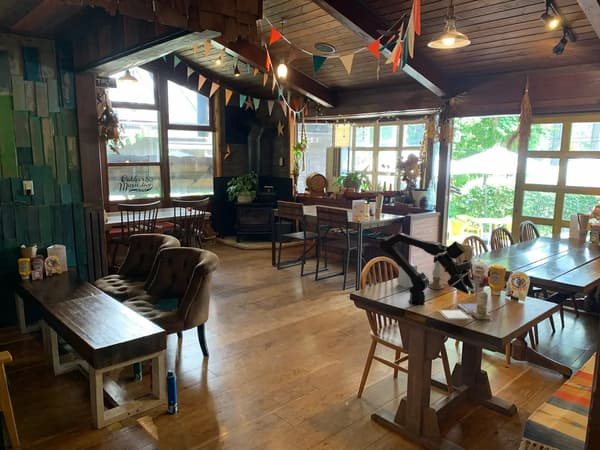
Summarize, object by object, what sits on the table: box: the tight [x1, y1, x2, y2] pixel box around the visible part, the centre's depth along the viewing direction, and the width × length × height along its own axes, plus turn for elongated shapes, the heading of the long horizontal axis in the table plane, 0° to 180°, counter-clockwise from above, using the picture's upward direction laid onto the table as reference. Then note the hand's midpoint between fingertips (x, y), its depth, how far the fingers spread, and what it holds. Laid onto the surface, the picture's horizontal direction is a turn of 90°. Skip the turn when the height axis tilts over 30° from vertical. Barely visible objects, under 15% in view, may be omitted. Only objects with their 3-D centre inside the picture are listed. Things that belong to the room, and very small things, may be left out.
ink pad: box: [457, 303, 477, 314], centre depth 216 cm, size 10×10×2 cm
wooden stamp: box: [471, 291, 491, 321], centre depth 204 cm, size 6×6×13 cm
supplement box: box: [397, 262, 418, 289], centre depth 251 cm, size 7×7×13 cm
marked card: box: [437, 309, 473, 320], centre depth 208 cm, size 12×12×1 cm
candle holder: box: [427, 252, 446, 290], centre depth 249 cm, size 9×9×20 cm
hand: (470, 291), depth 206 cm, fingers open, 9 cm apart
